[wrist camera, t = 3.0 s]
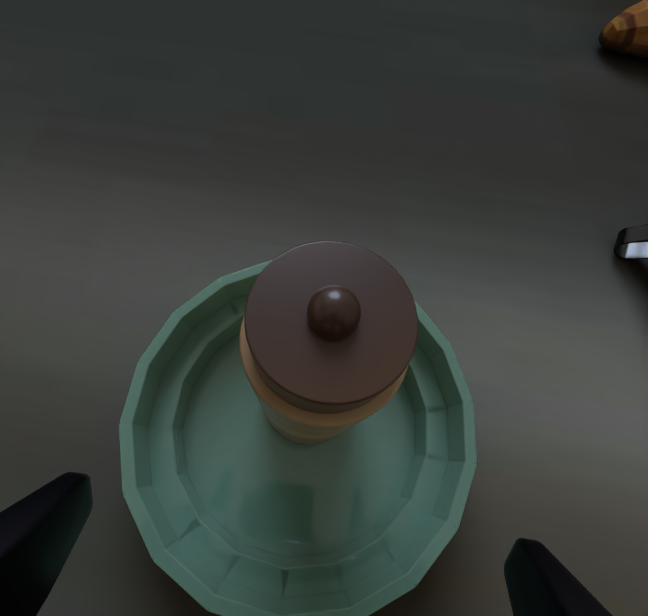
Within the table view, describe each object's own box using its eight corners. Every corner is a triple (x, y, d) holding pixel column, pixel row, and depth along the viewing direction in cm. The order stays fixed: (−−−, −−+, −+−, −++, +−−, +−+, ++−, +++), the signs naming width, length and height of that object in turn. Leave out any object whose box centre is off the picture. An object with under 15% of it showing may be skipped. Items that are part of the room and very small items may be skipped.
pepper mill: (370, 420, 19) (487, 358, 8) (283, 461, 18) (273, 458, 7) (331, 338, 20) (383, 186, 9) (249, 371, 19) (194, 246, 8)
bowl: (494, 499, 18) (546, 508, 14) (205, 666, 15) (178, 731, 11) (365, 261, 23) (380, 222, 19) (121, 350, 19) (81, 324, 16)
